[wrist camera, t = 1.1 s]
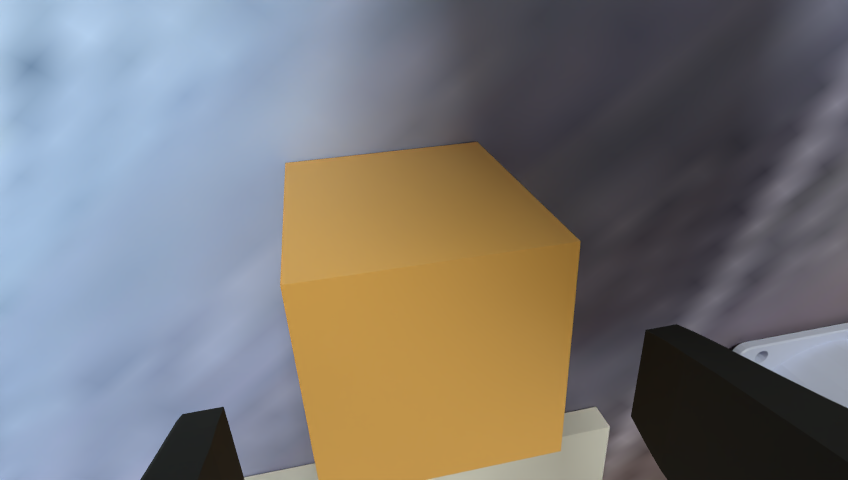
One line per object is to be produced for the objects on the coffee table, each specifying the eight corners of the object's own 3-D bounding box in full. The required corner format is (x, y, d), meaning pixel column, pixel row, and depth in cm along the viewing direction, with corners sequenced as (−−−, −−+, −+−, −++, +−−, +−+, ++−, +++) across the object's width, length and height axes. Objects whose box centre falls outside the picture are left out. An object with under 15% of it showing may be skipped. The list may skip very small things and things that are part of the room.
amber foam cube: (477, 141, 15) (580, 241, 9) (477, 299, 17) (561, 451, 12) (285, 162, 14) (280, 285, 8) (313, 326, 16) (322, 501, 11)
